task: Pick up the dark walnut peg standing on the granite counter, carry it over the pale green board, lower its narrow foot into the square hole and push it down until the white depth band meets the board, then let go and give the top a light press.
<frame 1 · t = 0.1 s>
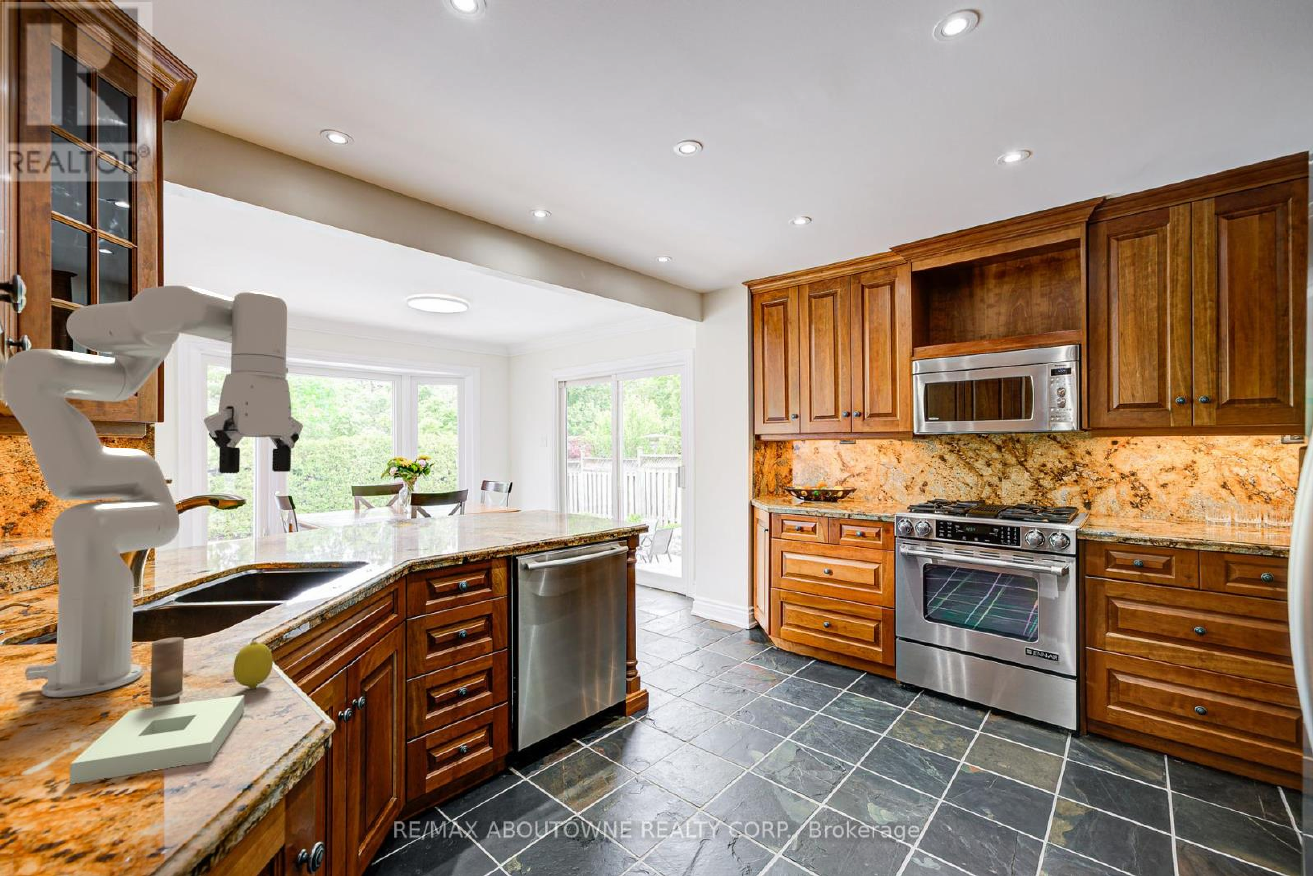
hand: (256, 472, 96), 37 cm above the worktop, tool pointing down, fingers open, 9 cm apart
peg: (165, 712, 90), on the worktop
lemon: (252, 690, 99), on the worktop
board: (167, 743, 80), on the worktop
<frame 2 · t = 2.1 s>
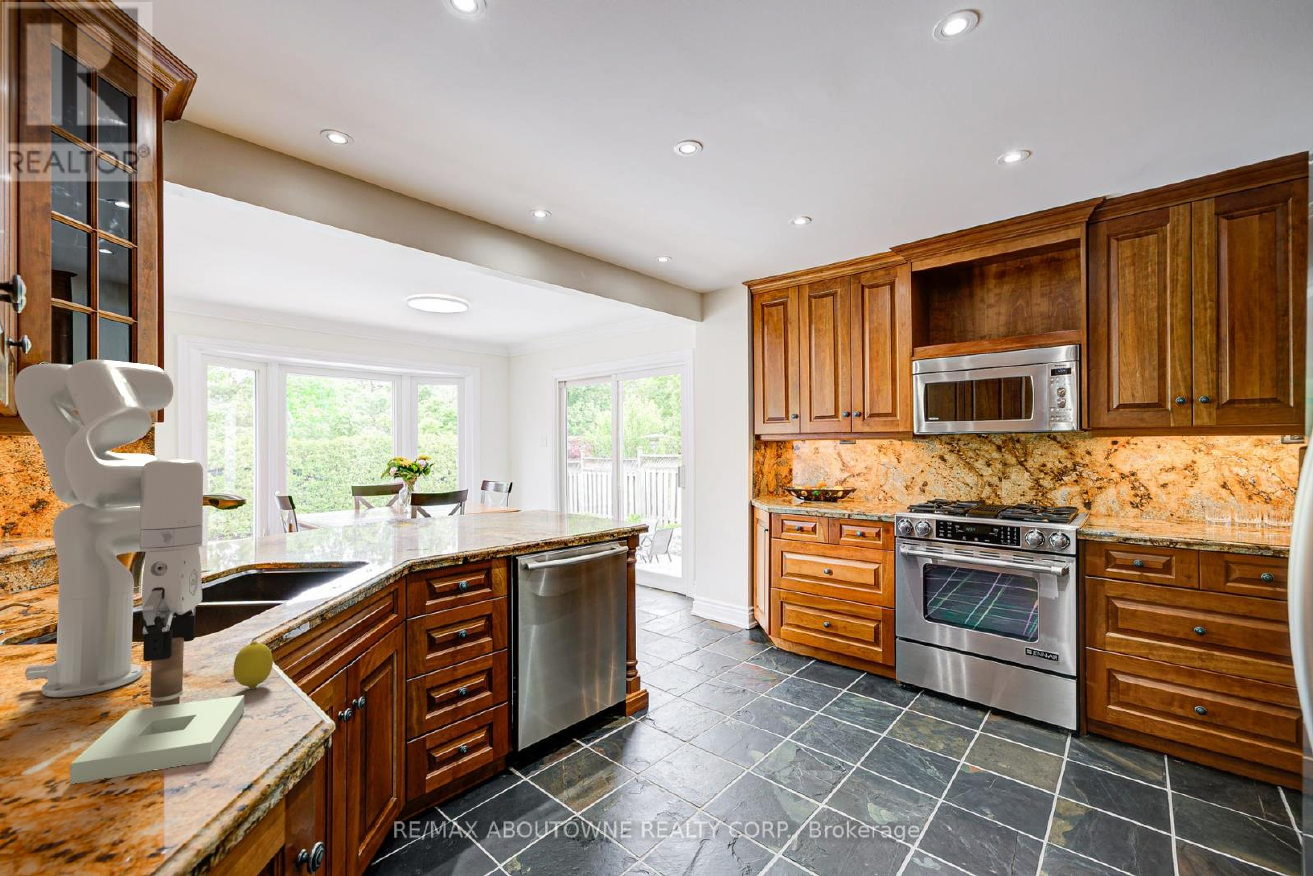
hand: (170, 650, 90), 10 cm above the worktop, tool pointing down, fingers open, 9 cm apart
nothing on the worktop moved.
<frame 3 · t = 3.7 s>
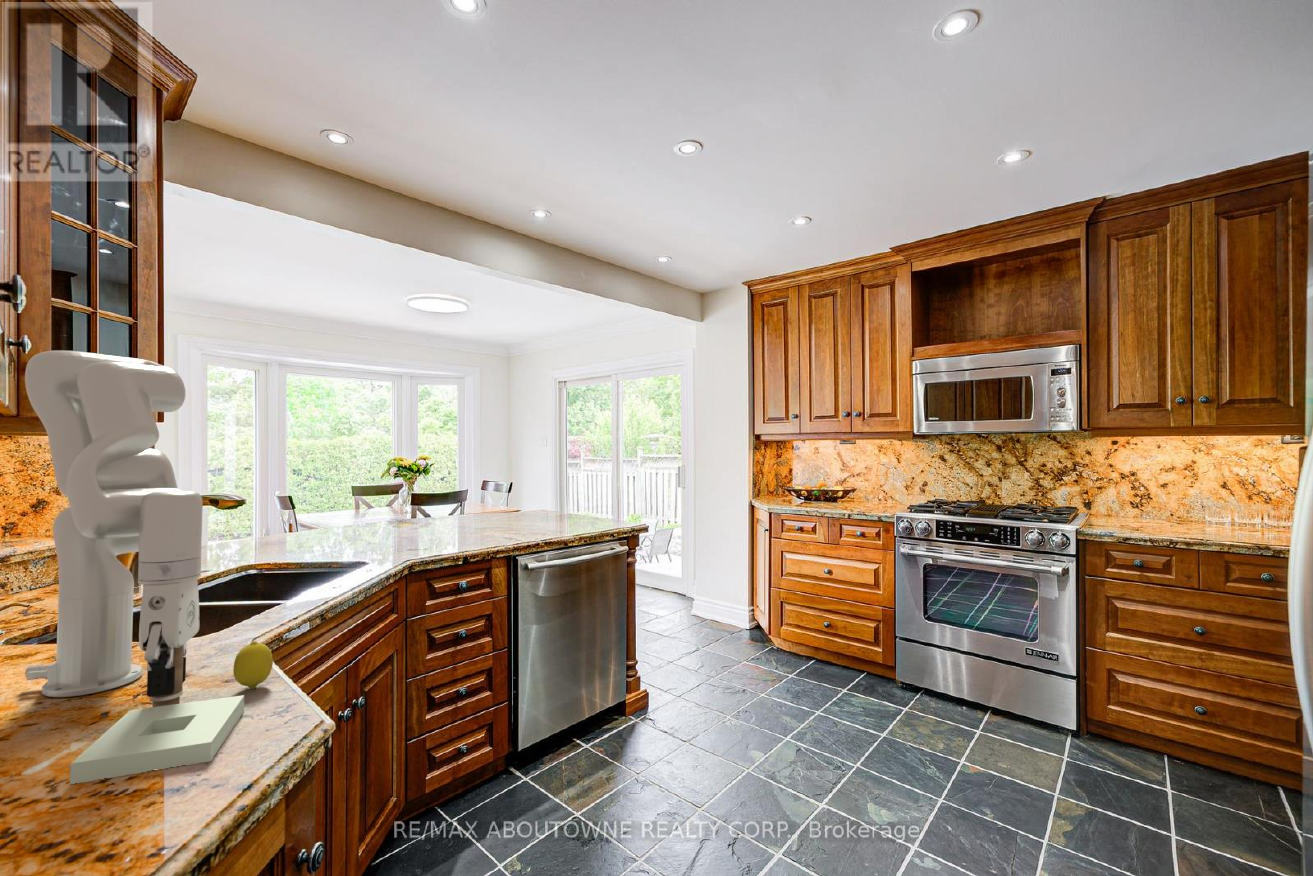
hand: (166, 688, 90), 4 cm above the worktop, tool pointing down, fingers closed on peg, 3 cm apart
peg: (165, 712, 90), on the worktop, touching gripper
everything else where it was.
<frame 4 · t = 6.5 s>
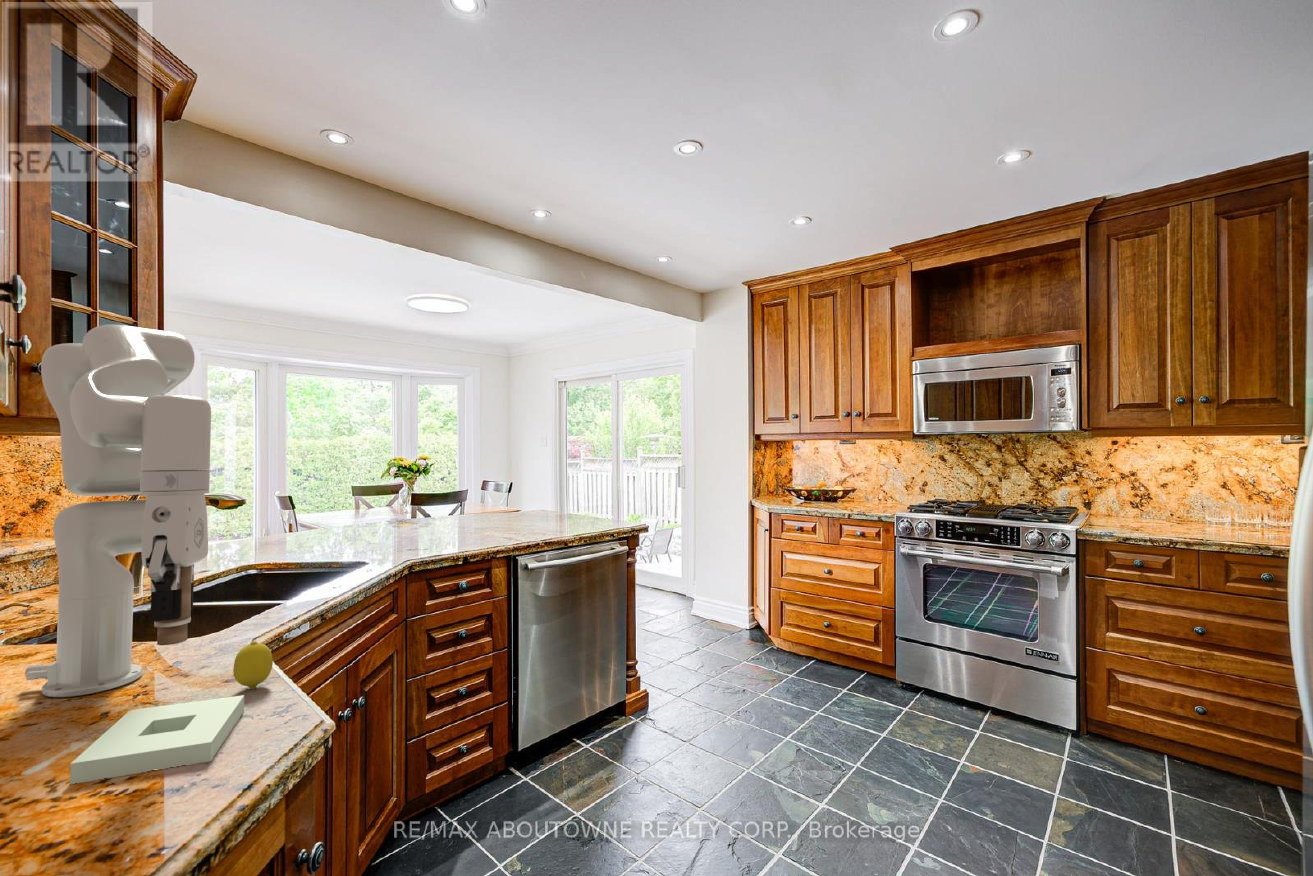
hand: (172, 614, 80), 18 cm above the worktop, tool pointing down, fingers closed on peg, 3 cm apart
peg: (172, 641, 80), point 14 cm above the worktop, touching gripper
everything else where it was.
when the fingers open (4 cm above the worktop, at t = 9.3 s): peg stays where it is, resting in board.
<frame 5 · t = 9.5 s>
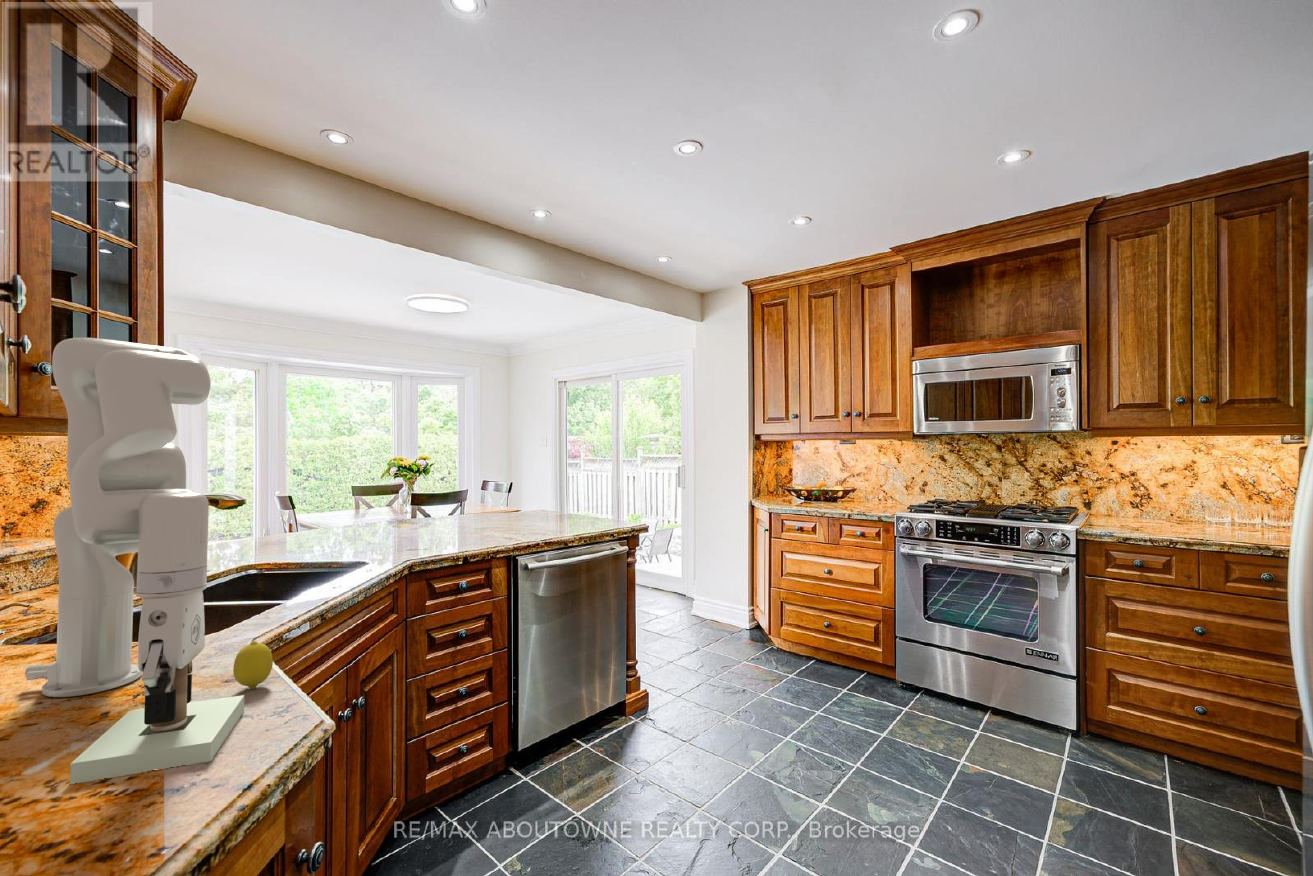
hand: (168, 711, 80), 4 cm above the worktop, tool pointing down, fingers open, 5 cm apart
peg: (168, 743, 80), resting in board
everything else where it was.
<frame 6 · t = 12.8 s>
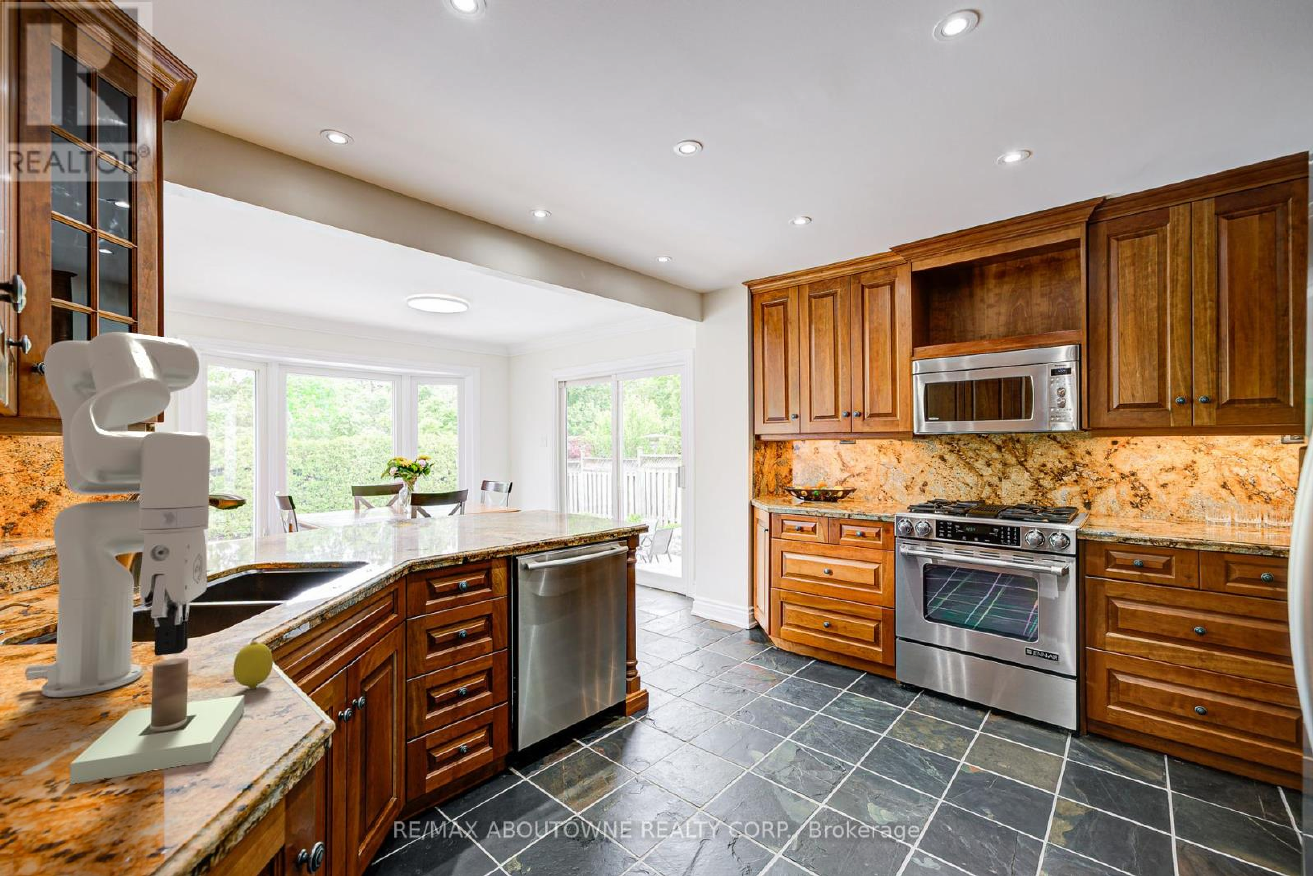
hand: (171, 652, 80), 13 cm above the worktop, tool pointing down, fingers closed
nothing on the worktop moved.
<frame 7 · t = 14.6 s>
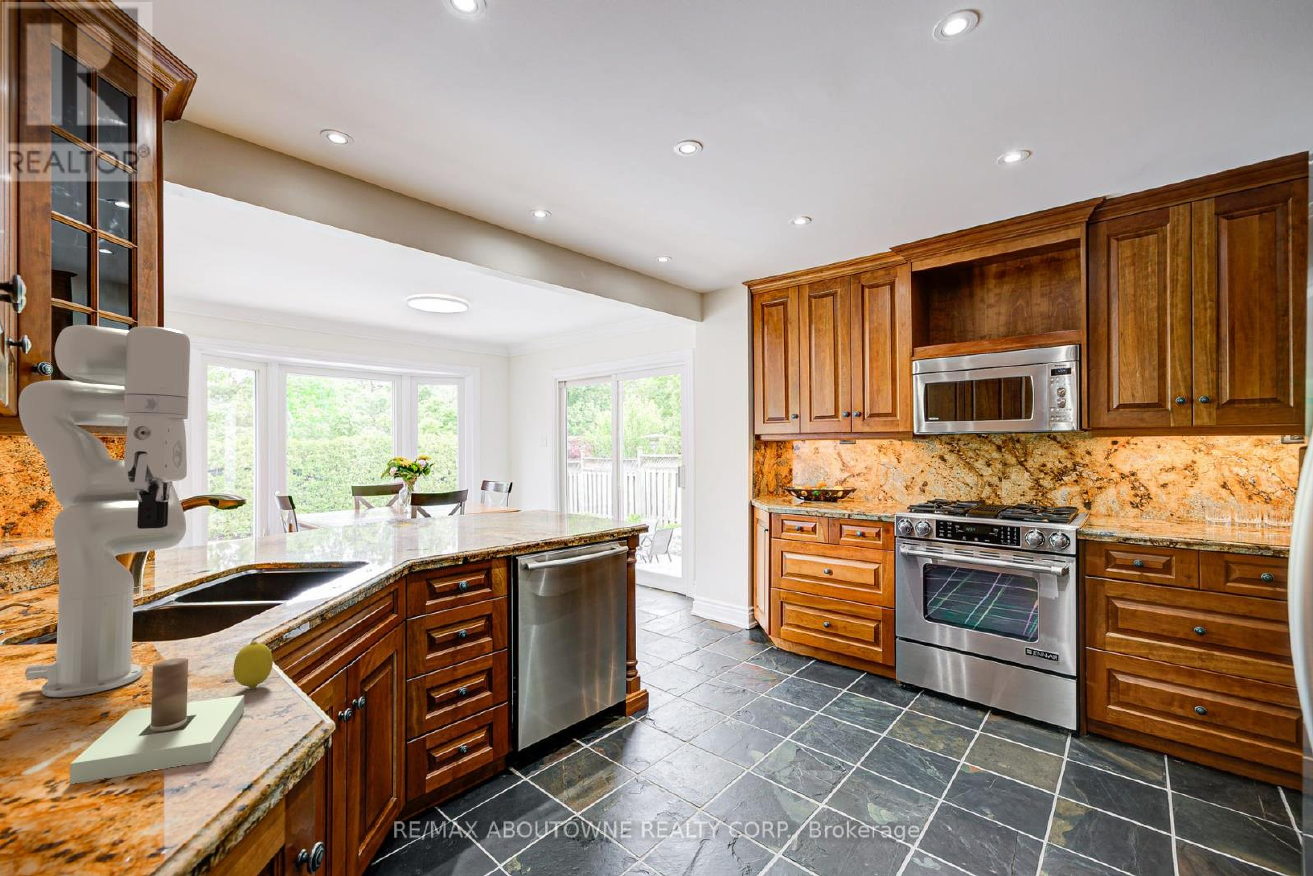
hand: (152, 527, 89), 29 cm above the worktop, tool pointing down, fingers closed
nothing on the worktop moved.
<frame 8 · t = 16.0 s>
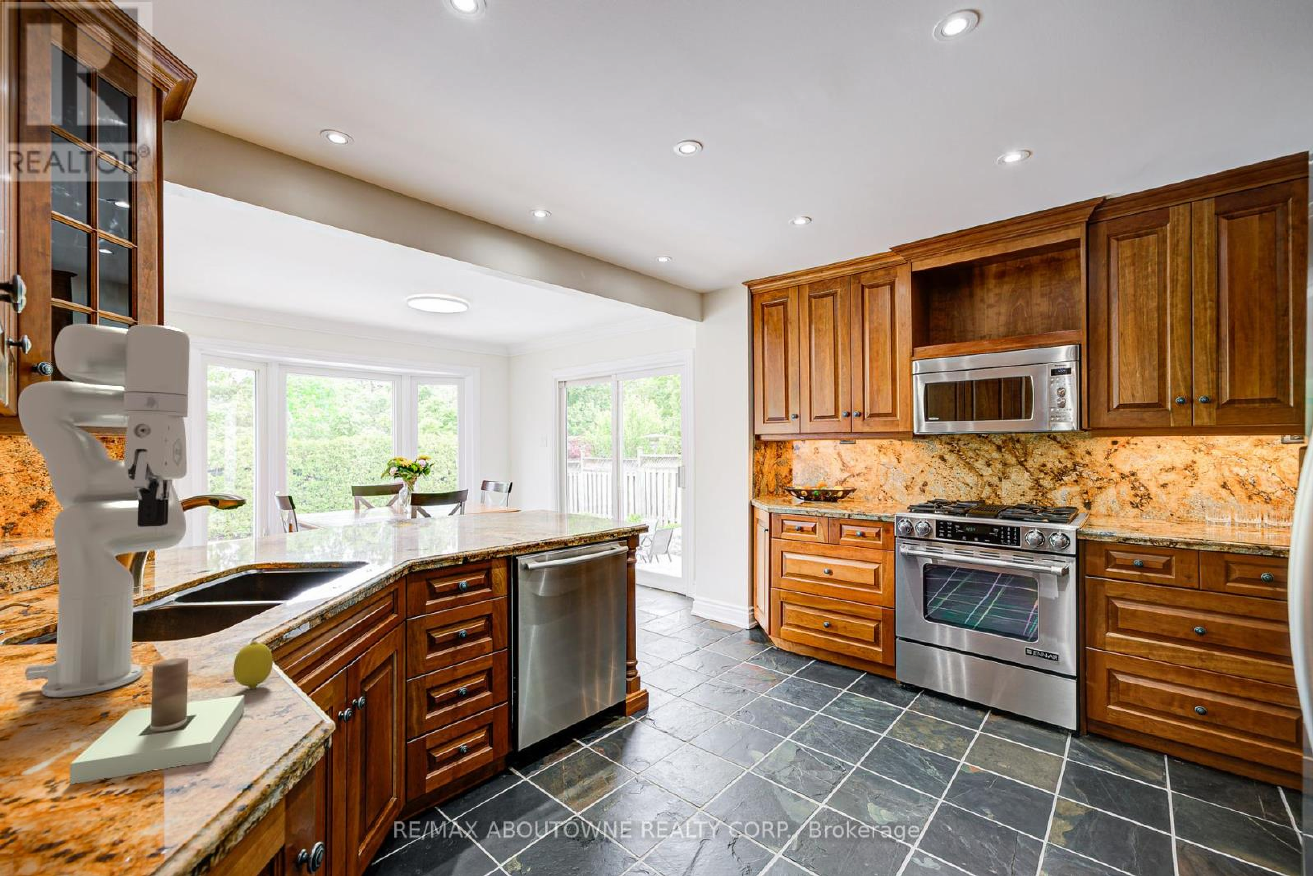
hand: (152, 525, 89), 29 cm above the worktop, tool pointing down, fingers closed
nothing on the worktop moved.
at the end: peg 0.1 cm off-centre on the board, point 0.0 cm above the board's base; peg tilted 0°; the gripper is holding nothing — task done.
